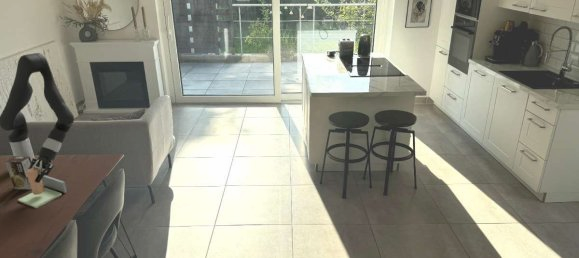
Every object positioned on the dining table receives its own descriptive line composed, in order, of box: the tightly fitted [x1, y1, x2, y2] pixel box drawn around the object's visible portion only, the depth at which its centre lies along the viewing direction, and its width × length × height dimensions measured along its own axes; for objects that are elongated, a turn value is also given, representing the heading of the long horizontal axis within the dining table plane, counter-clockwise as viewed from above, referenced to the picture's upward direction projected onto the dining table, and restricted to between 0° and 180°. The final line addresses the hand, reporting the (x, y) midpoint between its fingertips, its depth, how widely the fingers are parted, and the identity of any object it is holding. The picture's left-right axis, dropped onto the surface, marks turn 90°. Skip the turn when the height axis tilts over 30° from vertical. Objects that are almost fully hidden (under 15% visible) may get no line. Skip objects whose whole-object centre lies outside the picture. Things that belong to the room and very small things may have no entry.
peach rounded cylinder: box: [26, 168, 45, 195], centre depth 190 cm, size 5×5×12 cm
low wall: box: [42, 175, 68, 194], centre depth 201 cm, size 17×1×6 cm, turn 63°
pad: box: [17, 186, 62, 209], centre depth 193 cm, size 14×13×1 cm
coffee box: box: [4, 155, 33, 190], centre depth 201 cm, size 9×6×16 cm
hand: (33, 180), depth 189 cm, fingers closed on peach rounded cylinder, 5 cm apart
